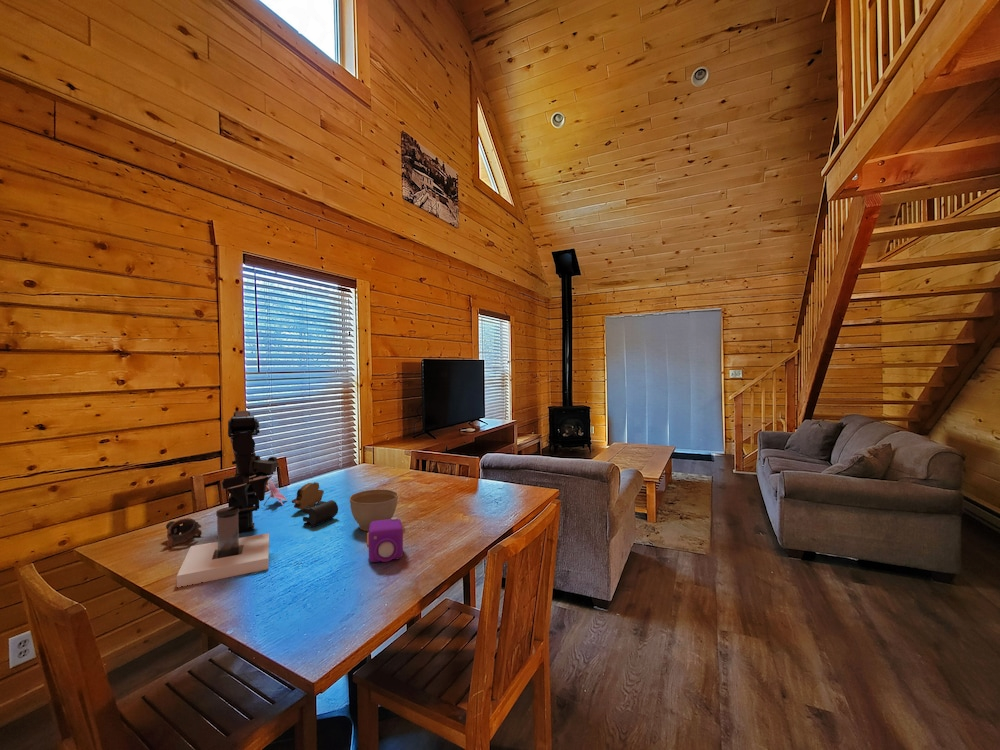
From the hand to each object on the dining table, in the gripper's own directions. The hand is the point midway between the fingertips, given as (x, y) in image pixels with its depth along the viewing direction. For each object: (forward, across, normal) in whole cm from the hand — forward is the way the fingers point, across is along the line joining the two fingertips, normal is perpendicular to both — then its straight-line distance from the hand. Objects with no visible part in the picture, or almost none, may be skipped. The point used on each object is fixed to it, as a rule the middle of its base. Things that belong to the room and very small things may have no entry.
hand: (254, 504), depth 129 cm
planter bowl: (+19, +14, -30) cm, 38 cm away
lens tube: (+13, -11, +4) cm, 18 cm away
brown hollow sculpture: (+7, +5, +27) cm, 28 cm away
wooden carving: (+10, +35, 0) cm, 36 cm away
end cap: (+14, +19, -11) cm, 26 cm away
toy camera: (+23, -11, -39) cm, 47 cm away
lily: (+7, +40, +15) cm, 43 cm away
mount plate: (+13, -11, +4) cm, 18 cm away
